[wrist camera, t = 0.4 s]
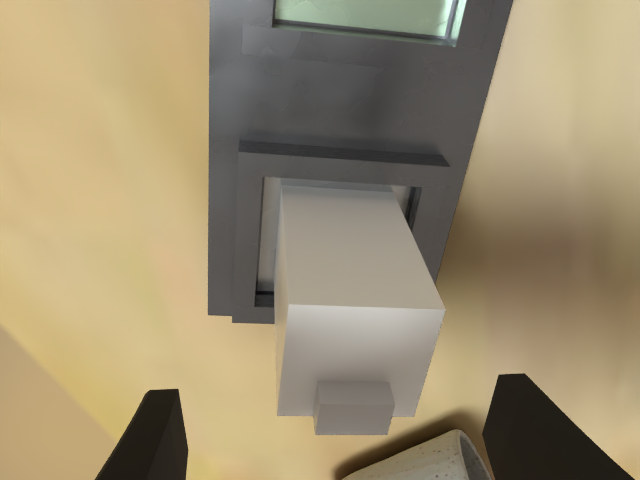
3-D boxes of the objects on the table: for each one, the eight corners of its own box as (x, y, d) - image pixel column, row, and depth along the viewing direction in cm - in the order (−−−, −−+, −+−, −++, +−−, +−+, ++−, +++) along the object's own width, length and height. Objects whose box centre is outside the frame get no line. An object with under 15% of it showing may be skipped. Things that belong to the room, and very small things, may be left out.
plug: (393, 192, 19) (455, 330, 13) (374, 282, 21) (420, 439, 15) (281, 185, 19) (290, 326, 12) (273, 278, 21) (277, 439, 15)
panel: (558, -225, 14) (598, -242, 13) (418, 307, 24) (430, 338, 22) (214, -286, 13) (207, -315, 11) (210, 299, 22) (205, 331, 21)
